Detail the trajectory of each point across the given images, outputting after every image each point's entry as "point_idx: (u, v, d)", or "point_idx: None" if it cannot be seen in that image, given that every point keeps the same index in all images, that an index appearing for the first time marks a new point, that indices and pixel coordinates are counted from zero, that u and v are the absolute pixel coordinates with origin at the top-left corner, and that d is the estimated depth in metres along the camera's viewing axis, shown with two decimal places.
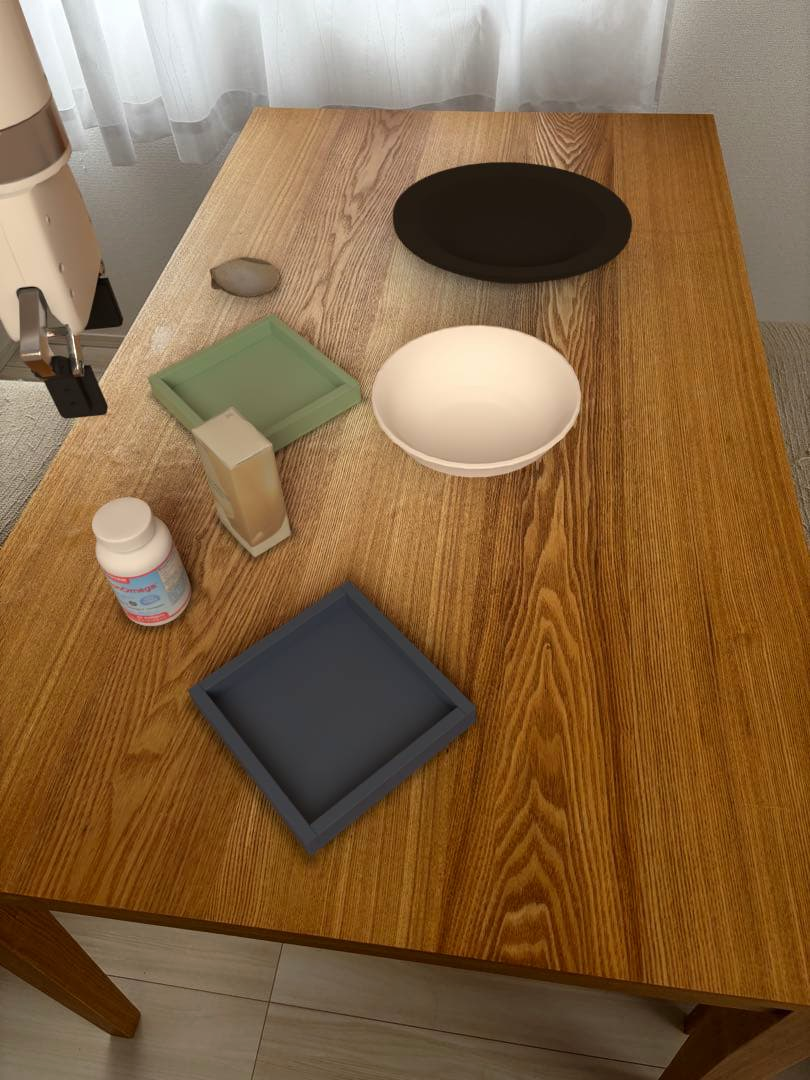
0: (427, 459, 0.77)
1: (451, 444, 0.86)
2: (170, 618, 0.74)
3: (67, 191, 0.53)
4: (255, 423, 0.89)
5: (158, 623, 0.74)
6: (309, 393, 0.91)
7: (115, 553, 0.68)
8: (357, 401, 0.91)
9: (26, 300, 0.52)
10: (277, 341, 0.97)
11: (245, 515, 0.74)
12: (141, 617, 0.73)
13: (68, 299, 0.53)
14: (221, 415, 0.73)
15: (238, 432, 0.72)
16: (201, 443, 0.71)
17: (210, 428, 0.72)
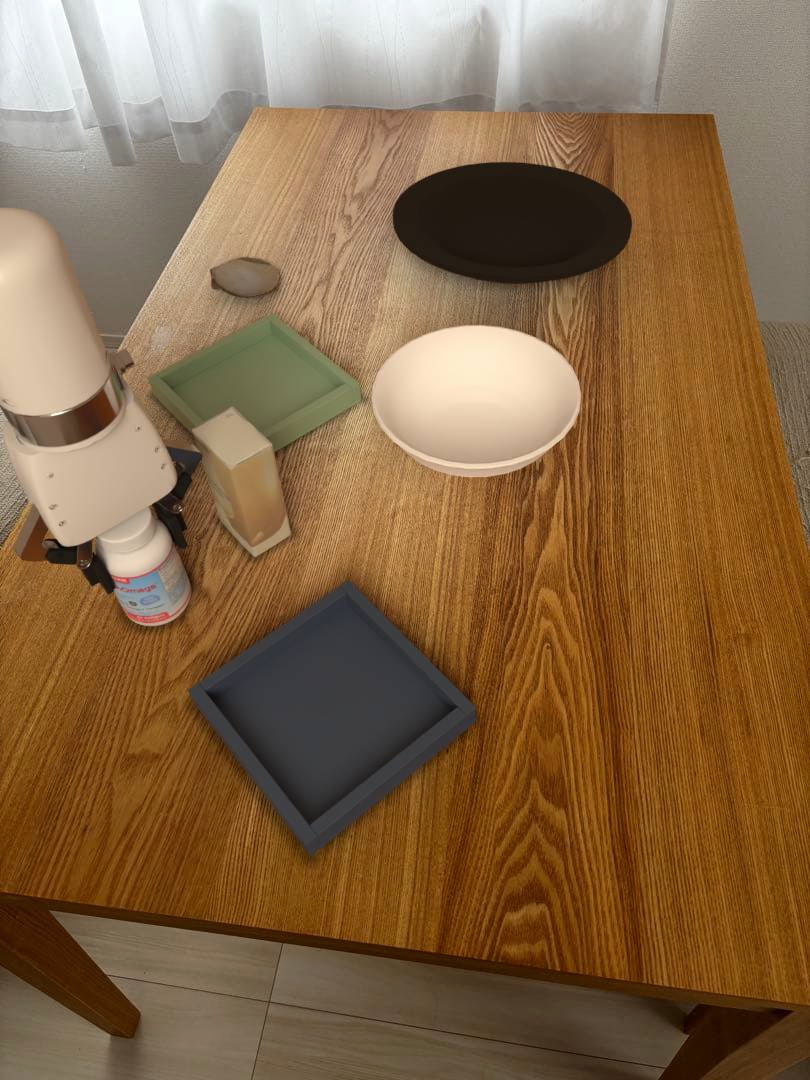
0: (427, 459, 0.77)
1: (451, 444, 0.86)
2: (170, 618, 0.74)
3: (109, 454, 0.60)
4: (255, 423, 0.89)
5: (158, 623, 0.74)
6: (309, 393, 0.91)
7: (115, 553, 0.68)
8: (357, 401, 0.91)
9: (33, 512, 0.62)
10: (277, 341, 0.97)
11: (245, 515, 0.74)
12: (141, 617, 0.73)
13: (55, 526, 0.61)
14: (221, 415, 0.73)
15: (239, 432, 0.72)
16: (201, 443, 0.71)
17: (210, 428, 0.72)
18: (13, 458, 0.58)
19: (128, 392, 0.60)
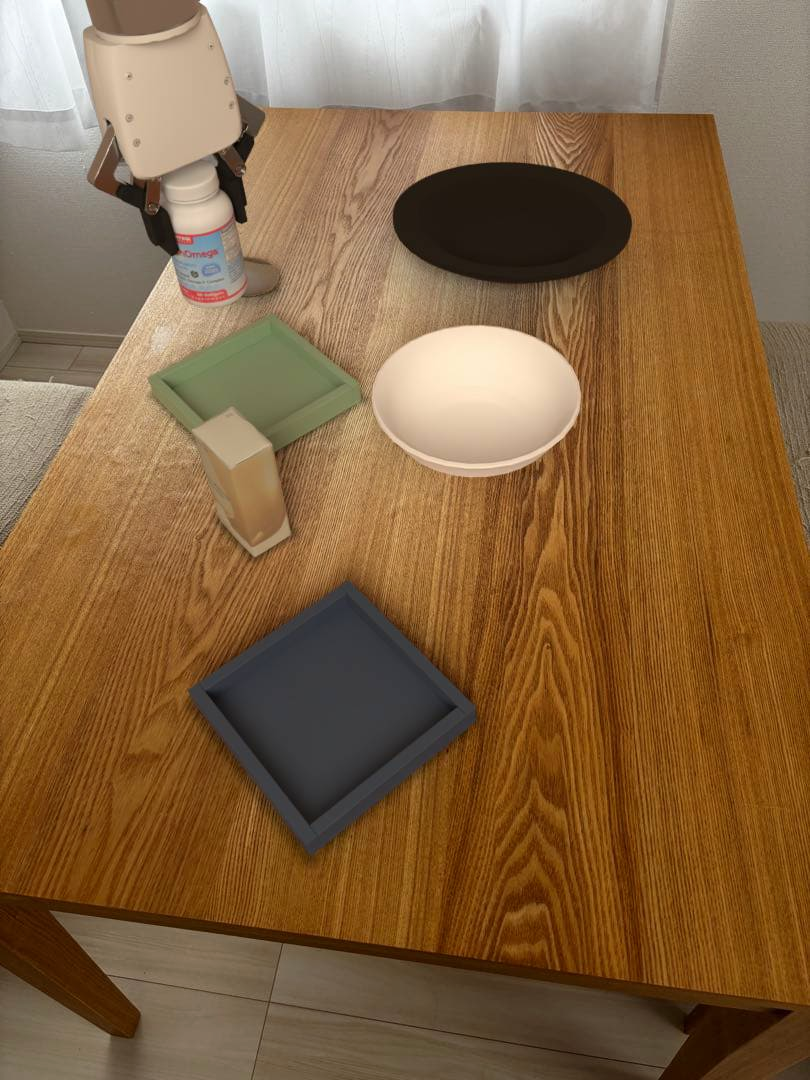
0: (427, 459, 0.77)
1: (451, 444, 0.86)
2: (228, 299, 0.76)
3: (183, 67, 0.62)
4: (255, 423, 0.89)
5: (217, 303, 0.76)
6: (309, 393, 0.91)
7: (180, 208, 0.70)
8: (357, 401, 0.91)
9: (107, 136, 0.64)
10: (277, 341, 0.97)
11: (245, 515, 0.74)
12: (201, 295, 0.75)
13: (129, 145, 0.63)
14: (221, 415, 0.73)
15: (238, 432, 0.72)
16: (201, 443, 0.71)
17: (210, 428, 0.72)
18: (93, 60, 0.60)
19: (202, 8, 0.62)
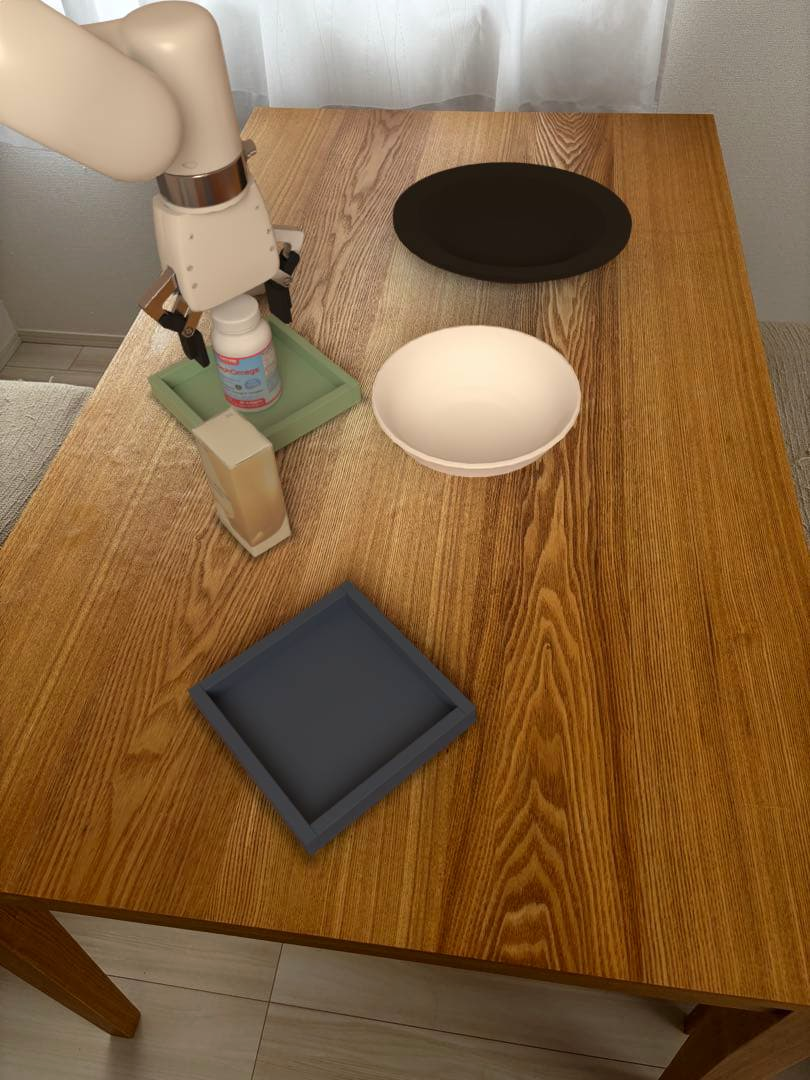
0: (427, 459, 0.77)
1: (451, 444, 0.86)
2: (266, 405, 0.89)
3: (234, 225, 0.75)
4: (255, 423, 0.89)
5: (256, 409, 0.89)
6: (309, 393, 0.91)
7: (228, 336, 0.83)
8: (357, 401, 0.91)
9: (166, 274, 0.76)
10: (277, 341, 0.97)
11: (245, 515, 0.74)
12: (243, 402, 0.89)
13: (188, 288, 0.76)
14: (221, 415, 0.73)
15: (239, 432, 0.72)
16: (201, 443, 0.71)
17: (210, 428, 0.72)
18: (161, 223, 0.73)
19: (250, 176, 0.75)
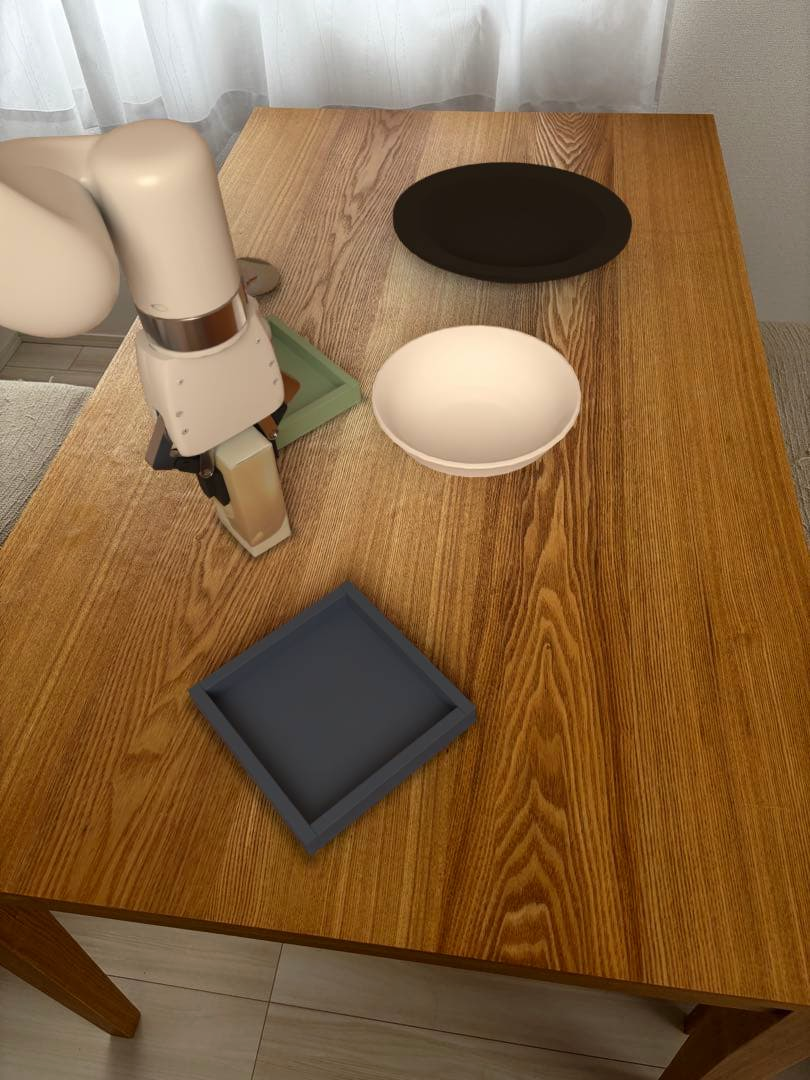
0: (427, 459, 0.77)
1: (451, 444, 0.86)
2: None
3: (232, 364, 0.64)
4: None
5: None
6: (309, 393, 0.91)
7: None
8: (357, 401, 0.91)
9: (159, 424, 0.66)
10: (277, 341, 0.97)
11: (245, 515, 0.74)
12: None
13: (178, 434, 0.65)
14: None
15: None
16: None
17: None
18: (145, 365, 0.62)
19: (250, 306, 0.64)
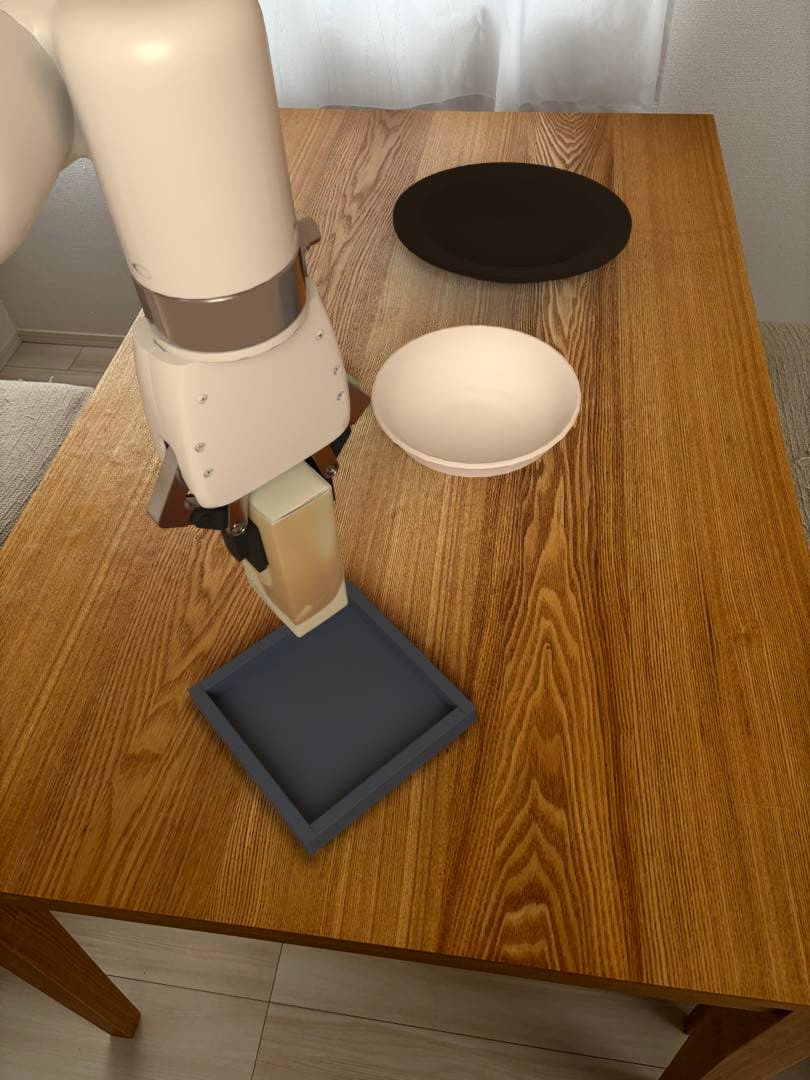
0: (427, 459, 0.77)
1: (451, 444, 0.86)
2: None
3: (281, 371, 0.42)
4: None
5: None
6: None
7: None
8: None
9: (169, 460, 0.44)
10: None
11: (290, 585, 0.52)
12: None
13: (198, 477, 0.43)
14: None
15: None
16: None
17: None
18: (148, 374, 0.40)
19: (309, 282, 0.42)
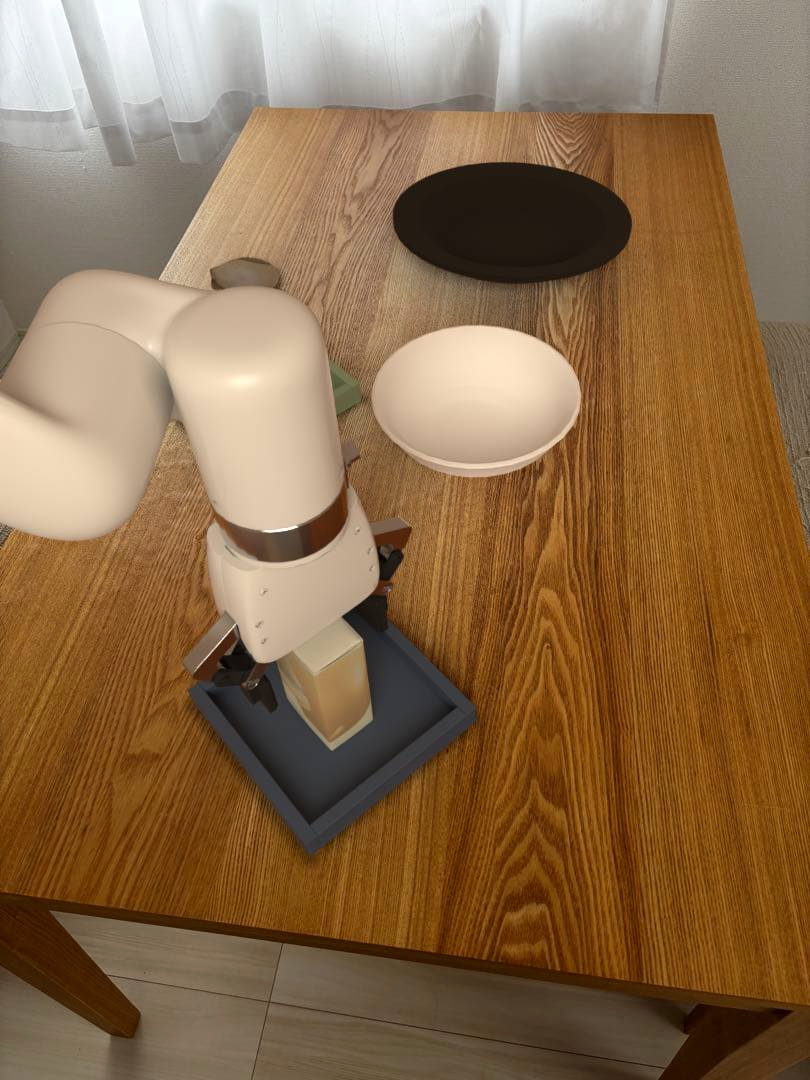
0: (427, 459, 0.77)
1: (451, 444, 0.86)
2: None
3: (326, 562, 0.51)
4: None
5: None
6: None
7: None
8: (357, 401, 0.91)
9: (223, 623, 0.52)
10: None
11: (326, 715, 0.62)
12: None
13: (256, 644, 0.52)
14: None
15: None
16: None
17: None
18: (220, 571, 0.49)
19: (349, 489, 0.51)
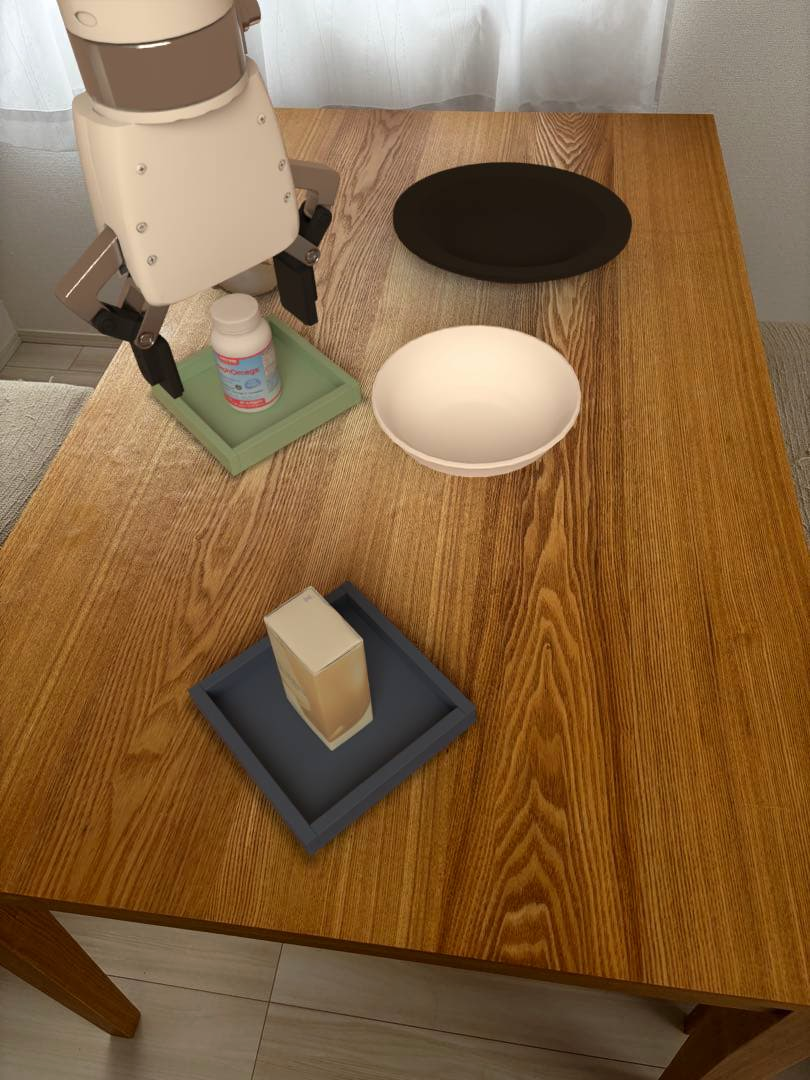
0: (427, 459, 0.77)
1: (451, 444, 0.86)
2: (266, 405, 0.89)
3: (222, 152, 0.42)
4: (255, 423, 0.89)
5: (256, 409, 0.89)
6: (309, 393, 0.91)
7: (228, 336, 0.83)
8: (357, 401, 0.91)
9: (102, 239, 0.43)
10: (277, 341, 0.97)
11: (326, 715, 0.62)
12: (243, 403, 0.89)
13: (142, 264, 0.43)
14: (298, 598, 0.60)
15: (321, 623, 0.59)
16: (276, 636, 0.59)
17: (286, 616, 0.59)
18: (88, 144, 0.40)
19: (250, 63, 0.42)
